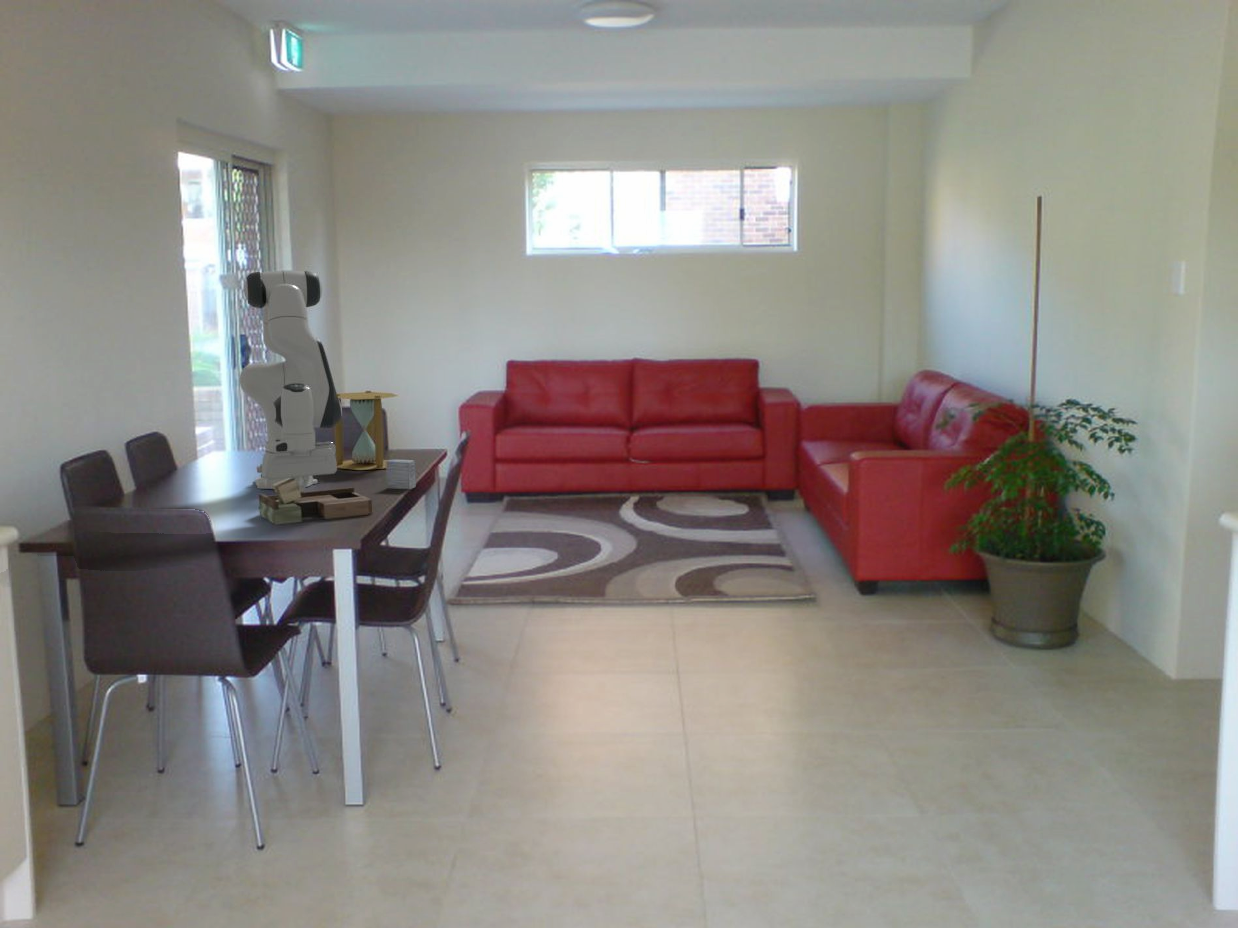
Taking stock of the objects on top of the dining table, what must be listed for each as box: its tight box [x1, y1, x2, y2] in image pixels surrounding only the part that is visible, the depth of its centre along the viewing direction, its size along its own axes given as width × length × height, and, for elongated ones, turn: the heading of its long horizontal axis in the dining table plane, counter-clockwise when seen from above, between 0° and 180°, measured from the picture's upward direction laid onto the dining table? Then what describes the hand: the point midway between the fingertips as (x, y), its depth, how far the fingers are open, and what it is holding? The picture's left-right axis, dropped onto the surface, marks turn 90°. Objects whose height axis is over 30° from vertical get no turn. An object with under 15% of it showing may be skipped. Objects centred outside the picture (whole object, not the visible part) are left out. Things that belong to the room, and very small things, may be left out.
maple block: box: [273, 478, 301, 504], centre depth 327 cm, size 5×5×5 cm
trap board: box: [258, 487, 373, 526], centre depth 330 cm, size 15×27×6 cm, turn 122°
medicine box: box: [385, 459, 417, 490], centre depth 369 cm, size 8×4×9 cm, turn 74°
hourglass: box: [333, 390, 399, 471], centre depth 410 cm, size 24×22×25 cm
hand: (301, 492), depth 329 cm, fingers closed
